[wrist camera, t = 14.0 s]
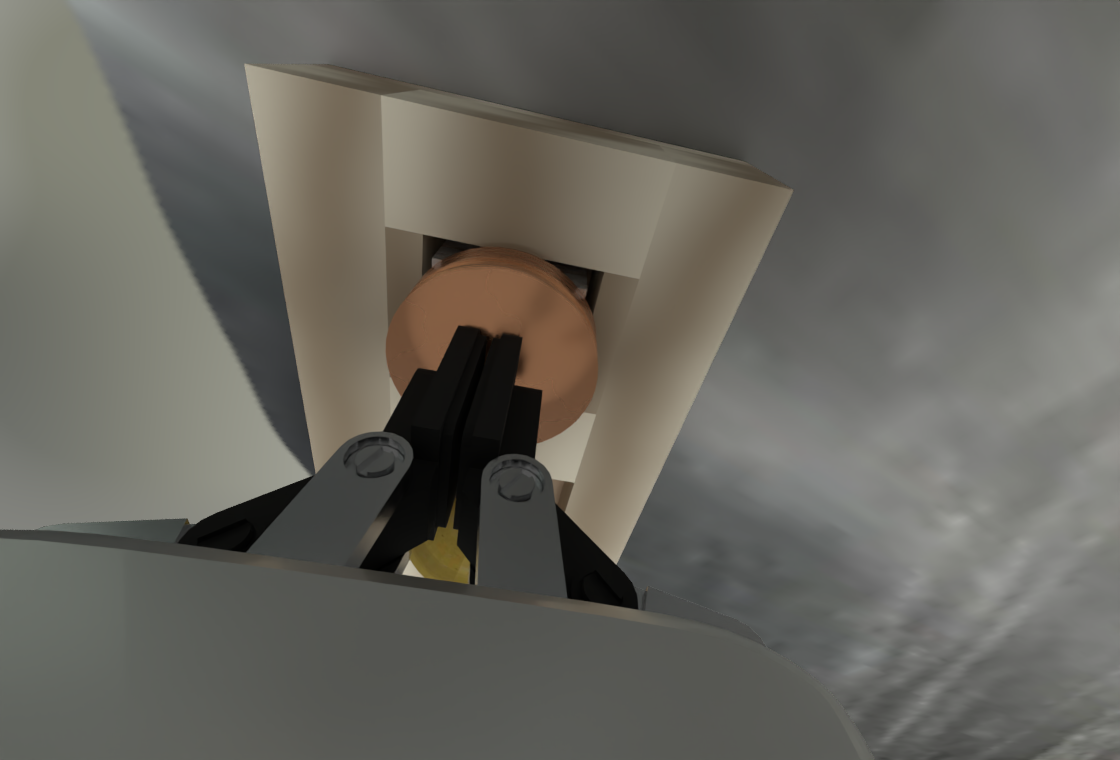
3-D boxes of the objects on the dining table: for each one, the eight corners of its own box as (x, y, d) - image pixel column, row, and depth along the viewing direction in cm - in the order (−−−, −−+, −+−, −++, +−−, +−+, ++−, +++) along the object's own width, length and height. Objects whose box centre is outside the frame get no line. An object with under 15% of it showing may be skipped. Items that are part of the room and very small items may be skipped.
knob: (517, 531, 22) (502, 635, 18) (417, 497, 21) (378, 600, 17) (559, 474, 20) (552, 579, 16) (449, 432, 19) (412, 534, 15)
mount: (745, 161, 14) (793, 190, 11) (590, 546, 26) (592, 615, 23) (328, 64, 13) (244, 63, 10) (366, 511, 25) (334, 577, 22)
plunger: (613, 236, 14) (623, 296, 10) (575, 377, 17) (573, 462, 14) (435, 198, 14) (381, 247, 10) (430, 350, 17) (388, 430, 13)
